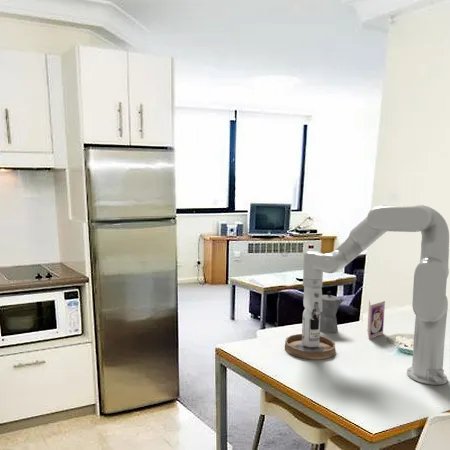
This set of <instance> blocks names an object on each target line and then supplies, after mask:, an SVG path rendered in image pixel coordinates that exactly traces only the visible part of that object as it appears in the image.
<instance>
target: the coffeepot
mask: <svg viewBox="0 0 450 450" xmlns="http://www.w3.org/2000/svg"><path fill="white" fill-rule="evenodd" d="M331 293H332V291H330V290H329V291H327V294H322V312H321V313H320V333H325V334H334V333H337V332H338V331H339V330H338V321H337V313H338V309H339V307H340V305H341V304H342V303H343V302H345V300H344V299H343V298H340V297H338V296H335V295H332V294H331Z"/></svg>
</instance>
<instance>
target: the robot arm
mask: <svg viewBox="0 0 450 450" xmlns="http://www.w3.org/2000/svg"><path fill="white" fill-rule="evenodd" d="M367 213H368V214H367V215H366V217H365V218H363V220H362V221H360V222H359V223H358V224H356V226H354V227H353V228H352V230H350V232H349V235H348V236H347V238H346V239H345V240H344V241H343V242H342V243H341V244H340V245H339V246H337V248H335V250H333V251H331V252H328V253H323V252H322V251H317V250H307V251H305V252H304V253H303V271H302V273H303V274H302V276H303V278H302V287H303V300H302V301H303V303H302V304H303V307H304V309H305V308H306V307H307V309H308V311H309V312H311V318H312V319H311V323H310V329H311V330H318V329H319V317H320V316H319V315H321V312H322V295H323V289H322V288H323V281H324V280H323V279H324V278H323V276H324V274H323V273H326V274H334V273H336V272H339V271H340V270H342V269H344V268H345V267H347V266H348V265H349V264H350V263H352V261H354V259H356V258H357V257H358V256H359V255H360V254H362V253H363V252H364V251H366V250H367V249H369V247H370V246H371V245H372V244H374V243H375V242H376V241H377V240H378V239H379V238H381V237H382V236H383V235H385V234H386V233H387V232H399V233H400V232H405V233H416V232H420V233H421V241H420V259H419V263H418V264H417V266H416V267H415V269H414V275H413V284H412V285H413V287H412V305H411V307H412V311H413V313H414V314H415V319H414V330H413V331H414V332H413V333H414V334H413V346H412V347H413V348H412V349H413V351H412V363H411V366H409V367H408V368H407V369H406V374H407V376H408V377H409V378H411V379H412V380H414V381H416V382H418V383H422V384H425V385H432V386H438V385H439V386H441V385H444V384H446V383H447V382H448V376H447V375H446V374H445V373H444V371H445V369H443V367H444V354H445V342H446V330H447V329H446V328H447V316H448V308H449V301H448V300H449V299H448V297H447V295H446V294H447V281H448V277H449V274H450V272H449V270H450V269H449V256H450V230H449V226H448V223H447V222H446V220H445V218H444V216H443V215H442V214H441V213H440V212H438V211H437V210H436V209H434V208H432V207H430V206H427V205H424V204H418V205H413V206H412V205H409V206H408V205H407V206H405V205H404V206H390V205H385V204H383V205H377V206H374V207H373V208H371V209H370V210H369V211H368V212H367ZM312 310H315V311H314V312H313V311H312ZM313 314H315V315H314V316H313Z"/></svg>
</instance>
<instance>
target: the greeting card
mask: <svg viewBox="0 0 450 450" xmlns="http://www.w3.org/2000/svg"><path fill="white" fill-rule="evenodd" d="M385 305H386V301H380V302H377V303H373V304H371V301H370V299H369V300H368V310H367V311H368V313H367V329H366V330H367V335H368V337H367V338H368V339H369V340H370V339H374V338H375V337H378V336H381V335H383V334H384V326H385V325H384V324H385V323H384V322H385Z"/></svg>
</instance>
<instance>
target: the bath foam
mask: <svg viewBox="0 0 450 450" xmlns="http://www.w3.org/2000/svg"><path fill="white" fill-rule="evenodd" d="M312 311H313V312H314V311H315V310H312ZM314 315H315V314H313V316H314ZM320 315H321V314H320ZM320 315H319V316H320ZM311 319H312V318H311V312H309V311H308V309H307V307H306V308H304V310H303V312H302V323H301V326H302V328H301V334H302V344H303V345H304V346H306V347H317V346H319V341H320V336H321V335H320V334H321V331H320V317H319V329H318V330H311V329H310V323H311Z"/></svg>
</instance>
